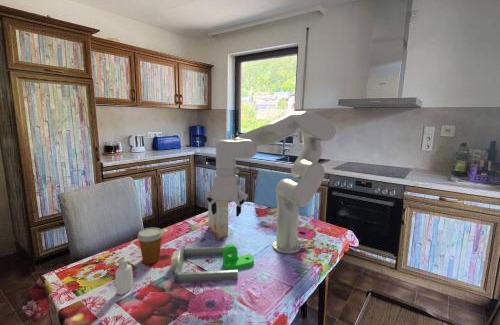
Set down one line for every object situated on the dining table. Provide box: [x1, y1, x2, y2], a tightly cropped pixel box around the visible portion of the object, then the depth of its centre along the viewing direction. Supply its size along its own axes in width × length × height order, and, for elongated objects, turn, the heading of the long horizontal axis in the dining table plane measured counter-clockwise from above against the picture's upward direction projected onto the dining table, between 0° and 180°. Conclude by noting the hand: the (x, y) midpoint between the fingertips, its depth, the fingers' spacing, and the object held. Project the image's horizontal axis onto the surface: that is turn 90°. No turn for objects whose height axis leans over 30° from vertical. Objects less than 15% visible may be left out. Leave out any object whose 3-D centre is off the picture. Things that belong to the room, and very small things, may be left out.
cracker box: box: [208, 189, 229, 239], centre depth 133 cm, size 14×6×21 cm, turn 27°
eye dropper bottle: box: [114, 255, 134, 296], centre depth 87 cm, size 4×6×12 cm
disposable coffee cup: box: [137, 227, 164, 265], centre depth 106 cm, size 10×10×12 cm
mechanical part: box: [222, 243, 255, 271], centre depth 104 cm, size 12×6×8 cm, turn 114°
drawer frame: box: [170, 245, 239, 284], centre depth 102 cm, size 24×20×5 cm
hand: (226, 214), depth 104 cm, fingers open, 9 cm apart
